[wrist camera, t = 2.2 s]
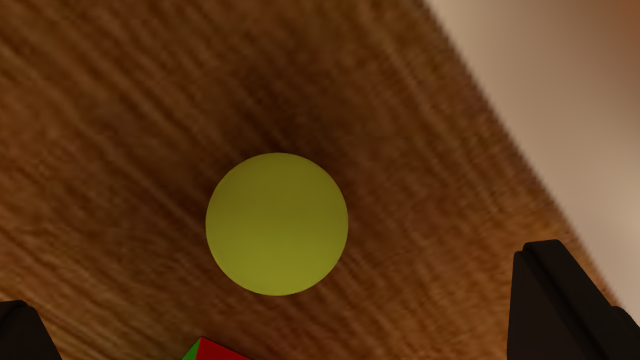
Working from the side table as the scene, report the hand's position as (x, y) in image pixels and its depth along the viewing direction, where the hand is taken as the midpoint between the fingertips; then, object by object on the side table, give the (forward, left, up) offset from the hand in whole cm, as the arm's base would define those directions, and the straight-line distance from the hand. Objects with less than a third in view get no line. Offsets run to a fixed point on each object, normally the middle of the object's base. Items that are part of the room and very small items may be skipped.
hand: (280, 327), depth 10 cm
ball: (0, 0, -3) cm, 3 cm away
